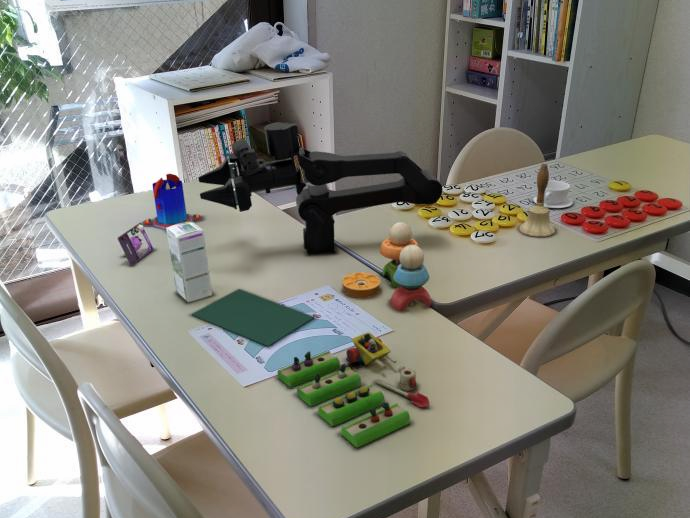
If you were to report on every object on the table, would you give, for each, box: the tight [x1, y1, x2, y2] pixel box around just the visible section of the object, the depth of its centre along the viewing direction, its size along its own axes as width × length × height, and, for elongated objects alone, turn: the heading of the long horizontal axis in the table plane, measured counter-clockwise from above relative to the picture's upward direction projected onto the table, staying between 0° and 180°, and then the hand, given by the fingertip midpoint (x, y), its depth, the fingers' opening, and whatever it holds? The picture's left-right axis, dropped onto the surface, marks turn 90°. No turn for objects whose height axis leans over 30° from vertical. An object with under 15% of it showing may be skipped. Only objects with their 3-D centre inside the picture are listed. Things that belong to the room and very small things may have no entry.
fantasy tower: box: [142, 173, 203, 230], centre depth 182 cm, size 12×12×12 cm
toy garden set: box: [277, 331, 430, 449], centre depth 121 cm, size 23×19×5 cm
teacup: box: [532, 179, 574, 209], centre depth 191 cm, size 10×10×5 cm
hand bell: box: [518, 163, 556, 238], centre depth 173 cm, size 8×8×16 cm
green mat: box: [191, 288, 315, 348], centre depth 143 cm, size 20×13×1 cm, turn 53°
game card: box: [117, 222, 154, 267], centre depth 167 cm, size 7×5×9 cm
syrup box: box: [165, 220, 213, 303], centre depth 148 cm, size 6×6×14 cm
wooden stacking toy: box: [341, 222, 432, 313], centre depth 147 cm, size 18×17×12 cm
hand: (199, 187), depth 158 cm, fingers open, 9 cm apart
